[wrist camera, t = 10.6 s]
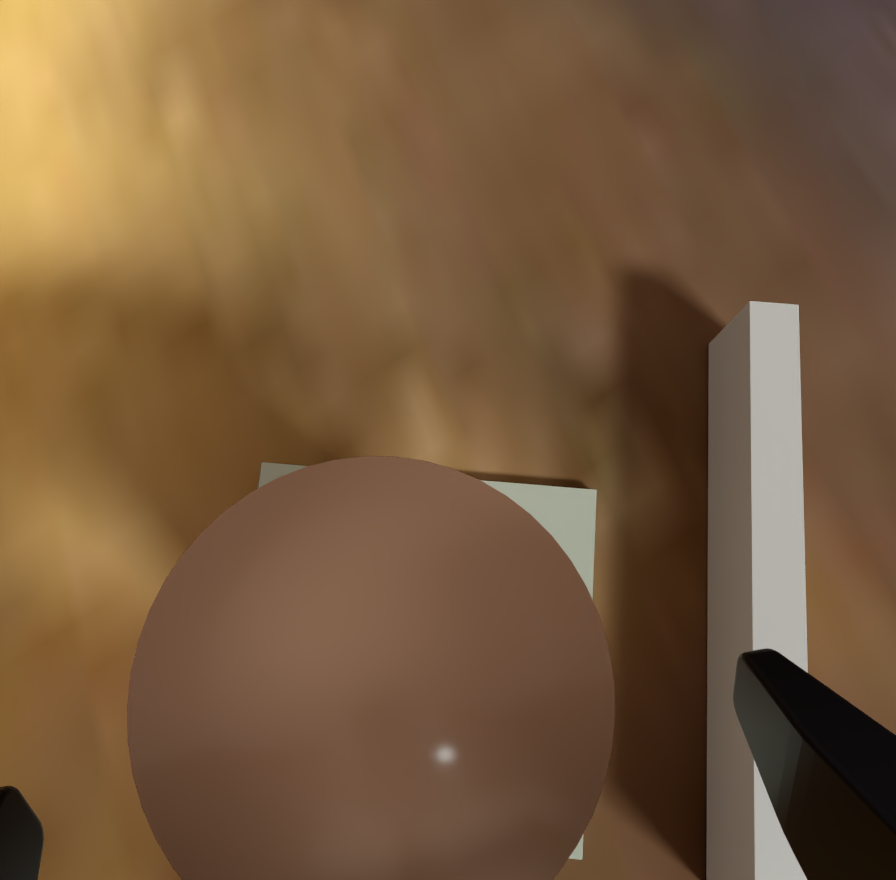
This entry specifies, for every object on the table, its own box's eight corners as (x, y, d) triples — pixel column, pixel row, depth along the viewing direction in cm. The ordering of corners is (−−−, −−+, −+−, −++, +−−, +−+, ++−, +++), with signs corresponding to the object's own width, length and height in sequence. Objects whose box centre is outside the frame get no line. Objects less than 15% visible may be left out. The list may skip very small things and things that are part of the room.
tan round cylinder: (460, 810, 18) (481, 1076, 8) (264, 702, 19) (30, 808, 8) (556, 604, 20) (691, 586, 9) (369, 507, 20) (282, 380, 9)
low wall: (755, 890, 18) (814, 942, 15) (706, 886, 18) (755, 936, 16) (750, 347, 22) (798, 304, 19) (708, 343, 22) (750, 300, 19)
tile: (579, 854, 19) (582, 859, 18) (214, 821, 19) (209, 825, 18) (593, 492, 21) (596, 489, 20) (265, 465, 21) (261, 462, 20)
